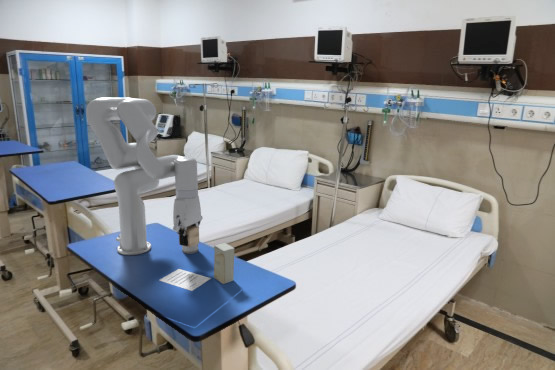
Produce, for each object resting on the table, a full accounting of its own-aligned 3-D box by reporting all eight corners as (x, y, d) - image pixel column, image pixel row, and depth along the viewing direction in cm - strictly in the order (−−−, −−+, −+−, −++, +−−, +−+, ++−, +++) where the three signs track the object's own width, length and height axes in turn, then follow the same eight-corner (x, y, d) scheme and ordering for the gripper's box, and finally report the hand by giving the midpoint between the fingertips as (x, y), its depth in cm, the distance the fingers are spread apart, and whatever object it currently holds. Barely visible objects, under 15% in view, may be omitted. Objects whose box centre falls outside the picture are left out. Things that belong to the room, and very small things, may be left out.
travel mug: (202, 250, 157) (201, 202, 152) (188, 255, 152) (187, 206, 147) (192, 246, 161) (191, 199, 156) (179, 251, 156) (177, 202, 151)
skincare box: (213, 277, 135) (213, 244, 132) (224, 274, 138) (224, 241, 135) (223, 285, 131) (223, 251, 128) (234, 281, 134) (234, 247, 131)
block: (179, 244, 140) (178, 228, 139) (188, 240, 144) (187, 224, 143) (190, 247, 138) (189, 231, 137) (199, 242, 142) (198, 226, 141)
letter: (158, 281, 132) (158, 280, 132) (179, 269, 141) (178, 268, 141) (192, 291, 126) (192, 290, 126) (210, 279, 134) (210, 278, 134)
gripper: (194, 187, 146) (196, 233, 150) (161, 197, 131) (164, 248, 135) (210, 189, 143) (212, 237, 147) (178, 200, 128) (181, 252, 132)
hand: (189, 242), depth 141 cm, fingers closed on block, 5 cm apart
